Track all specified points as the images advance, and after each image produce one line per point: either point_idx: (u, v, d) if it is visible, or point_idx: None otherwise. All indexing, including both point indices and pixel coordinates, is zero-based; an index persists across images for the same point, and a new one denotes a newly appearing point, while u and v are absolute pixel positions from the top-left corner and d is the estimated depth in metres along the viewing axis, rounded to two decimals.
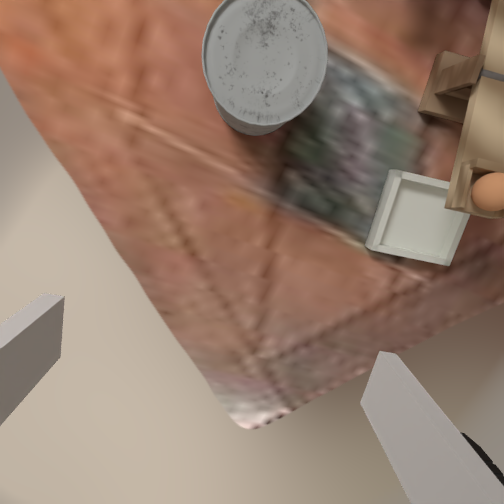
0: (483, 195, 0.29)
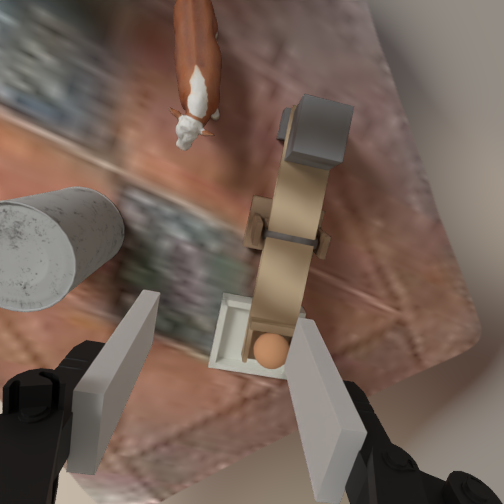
0: (256, 357, 0.31)
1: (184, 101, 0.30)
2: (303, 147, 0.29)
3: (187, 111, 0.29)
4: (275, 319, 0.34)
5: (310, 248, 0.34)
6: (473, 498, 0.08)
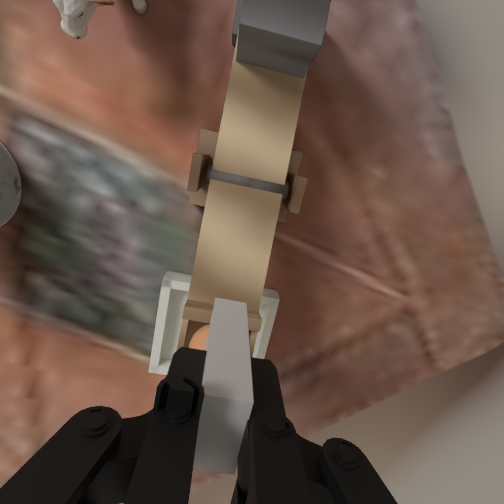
0: None
1: None
2: (257, 17, 0.17)
3: None
4: None
5: (277, 197, 0.22)
6: (344, 463, 0.08)
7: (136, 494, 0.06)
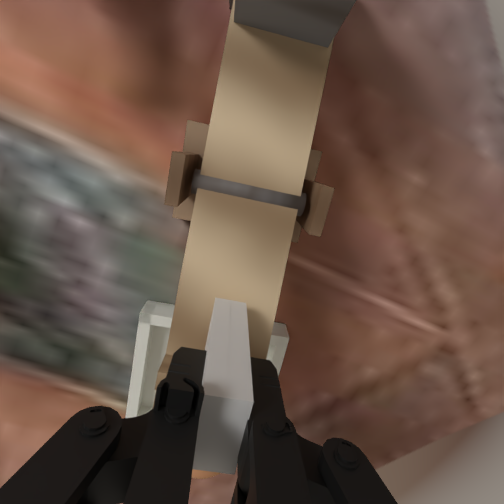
0: None
1: None
2: None
3: None
4: None
5: (291, 213, 0.16)
6: (343, 463, 0.08)
7: (136, 494, 0.06)
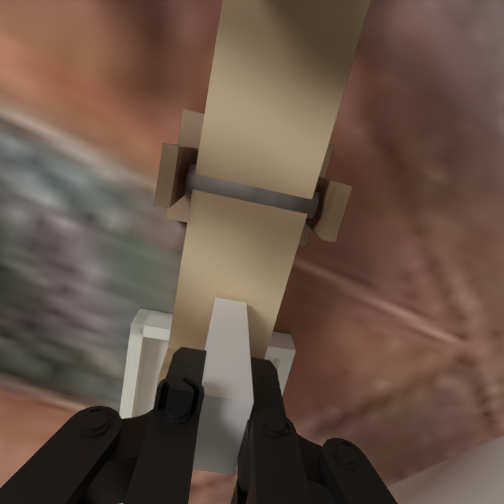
0: None
1: None
2: None
3: None
4: None
5: (299, 218, 0.14)
6: (343, 463, 0.08)
7: (136, 494, 0.06)
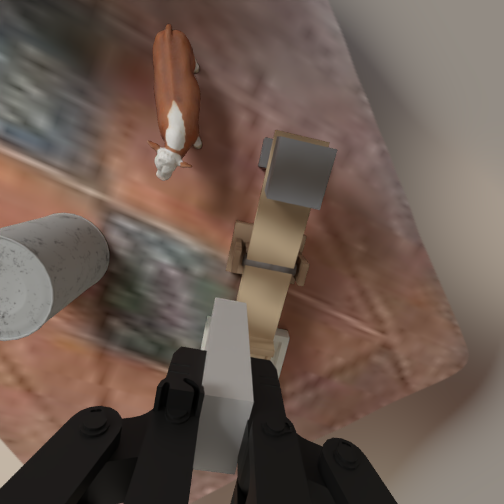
0: None
1: (163, 134, 0.30)
2: (278, 195, 0.27)
3: (165, 144, 0.30)
4: (252, 335, 0.36)
5: (288, 276, 0.34)
6: (344, 463, 0.08)
7: (136, 494, 0.06)
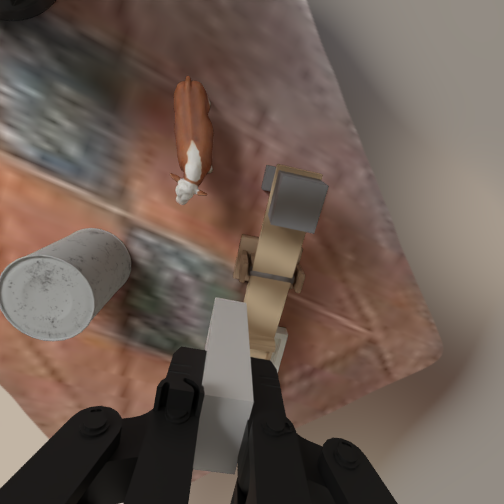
0: None
1: (182, 167, 0.36)
2: (280, 221, 0.33)
3: (185, 176, 0.35)
4: (256, 333, 0.43)
5: (287, 284, 0.40)
6: (344, 463, 0.08)
7: (136, 494, 0.06)
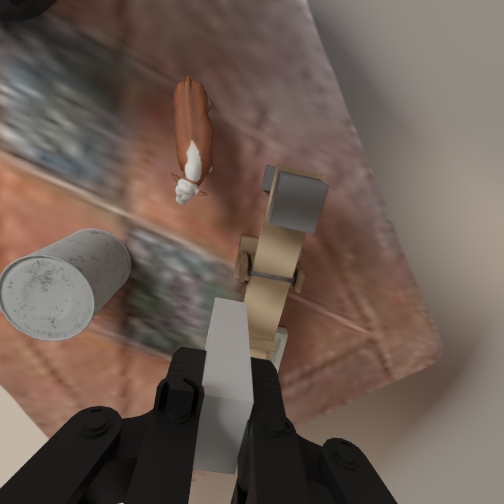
0: None
1: (182, 167, 0.36)
2: (280, 221, 0.33)
3: (184, 176, 0.35)
4: (256, 333, 0.43)
5: (287, 284, 0.40)
6: (344, 463, 0.08)
7: (136, 494, 0.06)
